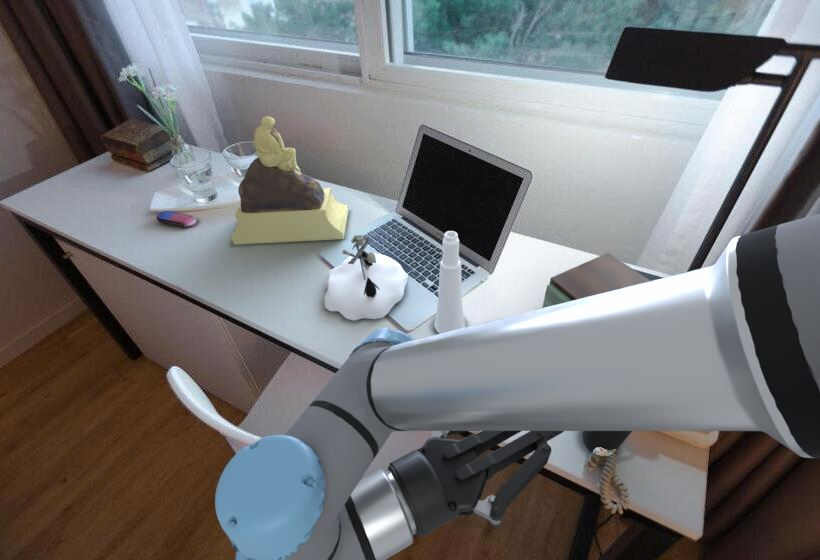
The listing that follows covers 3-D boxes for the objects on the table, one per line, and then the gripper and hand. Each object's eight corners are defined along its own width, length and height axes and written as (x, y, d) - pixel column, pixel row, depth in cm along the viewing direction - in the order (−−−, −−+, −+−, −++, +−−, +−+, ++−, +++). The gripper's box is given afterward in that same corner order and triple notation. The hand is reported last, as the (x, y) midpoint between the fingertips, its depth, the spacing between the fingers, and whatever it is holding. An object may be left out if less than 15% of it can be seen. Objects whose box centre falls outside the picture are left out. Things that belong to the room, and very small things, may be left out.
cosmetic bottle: (469, 319, 86) (474, 228, 72) (458, 341, 82) (461, 248, 68) (441, 311, 88) (441, 221, 74) (429, 331, 84) (426, 240, 70)
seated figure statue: (348, 211, 119) (329, 100, 99) (343, 238, 109) (321, 121, 90) (247, 216, 120) (208, 107, 100) (233, 244, 110) (187, 129, 90)
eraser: (199, 221, 119) (197, 215, 118) (189, 229, 116) (187, 223, 115) (167, 214, 122) (164, 209, 121) (156, 222, 119) (153, 217, 118)
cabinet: (589, 356, 78) (602, 320, 72) (542, 313, 86) (550, 277, 80) (646, 326, 83) (663, 289, 76) (596, 288, 91) (608, 252, 85)
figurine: (337, 253, 103) (323, 197, 91) (412, 258, 101) (409, 201, 89) (312, 319, 90) (292, 264, 78) (398, 327, 87) (392, 271, 75)
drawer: (565, 363, 76) (574, 333, 71) (523, 322, 84) (528, 293, 79) (637, 325, 82) (650, 295, 77) (591, 290, 89) (600, 261, 84)
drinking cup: (627, 473, 62) (677, 393, 49) (572, 457, 64) (605, 377, 51) (626, 426, 67) (670, 343, 54) (575, 413, 70) (605, 330, 56)
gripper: (377, 464, 50) (537, 380, 58) (433, 580, 42) (613, 463, 49) (370, 430, 45) (545, 343, 53) (432, 554, 37) (632, 428, 44)
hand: (578, 401), depth 51 cm, fingers closed
